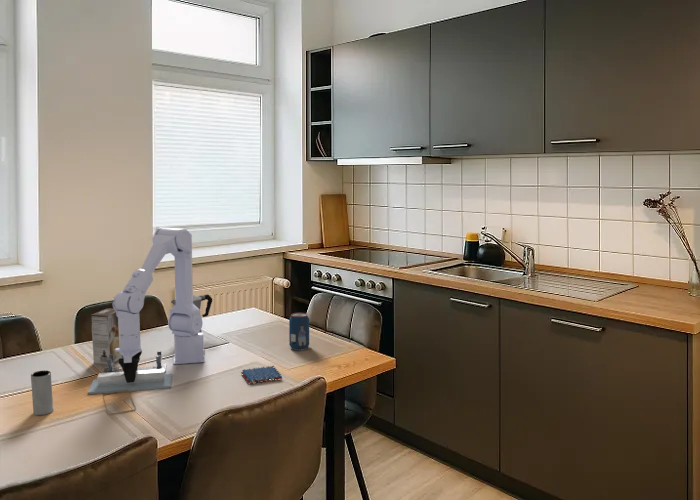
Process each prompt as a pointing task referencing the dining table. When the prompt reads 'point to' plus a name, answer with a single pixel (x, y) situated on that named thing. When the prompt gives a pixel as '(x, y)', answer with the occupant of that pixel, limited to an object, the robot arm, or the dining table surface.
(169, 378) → the mat
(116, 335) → the coffee box
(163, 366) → the gray bar clamp
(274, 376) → the woven mat
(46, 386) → the planter
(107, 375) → the rail
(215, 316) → the dining table surface
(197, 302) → the coffeepot
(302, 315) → the soda can
